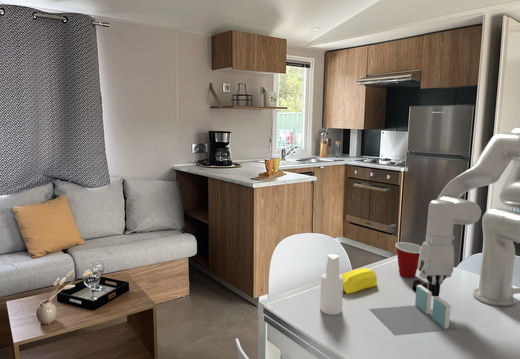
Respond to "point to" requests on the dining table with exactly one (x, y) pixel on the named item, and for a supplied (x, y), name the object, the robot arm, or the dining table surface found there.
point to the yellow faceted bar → (358, 280)
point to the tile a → (423, 299)
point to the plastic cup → (408, 258)
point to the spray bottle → (331, 287)
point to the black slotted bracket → (419, 282)
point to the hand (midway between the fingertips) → (433, 294)
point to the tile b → (441, 312)
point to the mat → (408, 320)
